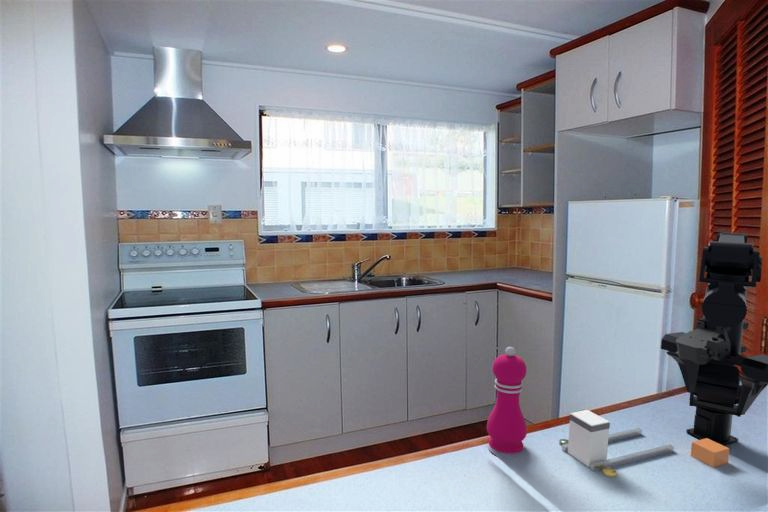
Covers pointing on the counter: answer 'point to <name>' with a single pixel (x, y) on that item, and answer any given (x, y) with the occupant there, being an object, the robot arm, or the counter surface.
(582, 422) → the plate
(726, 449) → the orange cube
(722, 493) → the counter surface
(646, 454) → the panel
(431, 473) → the counter surface
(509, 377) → the pepper mill
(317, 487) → the counter surface
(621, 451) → the counter surface
